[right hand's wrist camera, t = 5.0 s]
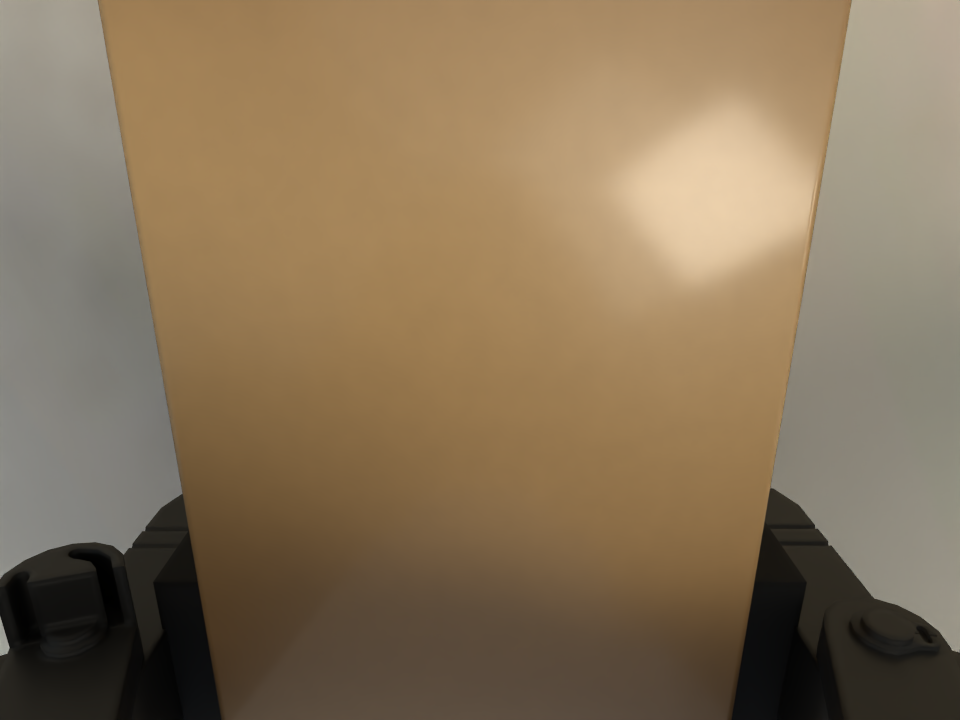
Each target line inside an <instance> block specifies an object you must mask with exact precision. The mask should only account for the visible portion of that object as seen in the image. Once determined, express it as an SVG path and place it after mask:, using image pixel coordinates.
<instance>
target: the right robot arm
mask: <svg viewBox="0 0 960 720" xmlns="http://www.w3.org/2000/svg"><path fill="white" fill-rule="evenodd" d="M0 617H1V620H2V623H3V627H4V630H5V633H6V637H7V640H8V643H9V647H10V649H9V651H8V654H5V655H2V656H0V720H222V719H221V714H220V708H219V702H218V696H217V690H216V684H215V679H214V673H213V667H212V661H211V655H210V650H209V644H208V638H207V632H206V626H205V621H204V615H203V609H202V603H201V597H200V591H199V586H198V580H197V574H196V568H195V562H194V557H193V551H192V545H191V539H190V533H189V527H188V522H187V516H186V510H185V504H184V498H183V494H181V495H180V496H178V497H177V498H175V499H174V500H172V501H171V502H169V503H168V504H166V505H165V506H163V507H162V508H161V509H160V510H159V511H158V513H157V514H156V515H155V516H154V518H153V519H152V520H151V521H150V523H149V524H148V525H147V526H146V530H145V531H142V533H141V534H140V535H139V536H138V538H137V539H136V540H135V541H134V543H133V546H132V548H129V549H128V550H127V551H126V553H125V554H124V555H123V554H122V553H121V552H120V551H119V550H117V549H116V548H115V547H114V546H111V545H106V544H101V543H96V542H93V543H77V544H70V545H66V546H62V547H58V548H54V549H50V550H47V551H45V552H43V553H40V554H38V555H36V556H33V557H31V558H29V559H27V560H24V561H23V562H21V563H20V564H19V565H17V566H16V567H14V568H13V569H11V570H10V571H8V572H7V573H5V574H4V575H3V576H2V578H1V579H0ZM731 720H960V653H959V652H955V651H952V650H951V648H950V646H949V645H948V643H947V642H946V641H945V639H944V638H943V637H942V635H941V634H940V632H939V631H938V630H936V629H935V628H934V627H933V626H931V625H930V624H929V623H928V622H926V621H925V620H924V619H922V618H921V617H920V616H918V615H916V614H914V613H912V612H910V611H908V610H906V609H904V608H902V607H900V606H898V605H894V604H891V603H887V602H884V601H880V600H877V599H874V598H873V597H872V596H871V594H870V593H869V592H868V591H867V589H866V588H865V587H864V586H863V584H862V583H861V582H860V581H859V579H858V578H857V577H856V576H855V575H854V573H853V572H852V571H851V570H850V568H849V567H848V566H847V565H846V563H845V562H844V561H843V560H842V558H841V557H840V556H839V555H838V553H837V552H836V551H835V550H834V548H833V547H832V546H828V541H827V540H826V538H825V537H824V536H823V535H822V533H821V532H820V531H819V530H818V529H815V525H814V523H813V522H812V521H811V520H810V519H809V517H808V516H807V515H806V514H805V512H804V511H803V510H802V509H801V507H800V506H799V505H798V504H796V503H795V502H793V501H791V500H790V499H788V498H787V497H785V496H784V495H782V494H781V493H779V492H778V491H776V490H775V489H773V488H770V492H769V498H768V503H767V509H766V515H765V521H764V527H763V533H762V539H761V545H760V551H759V557H758V563H757V569H756V575H755V581H754V587H753V593H752V599H751V605H750V611H749V617H748V623H747V629H746V635H745V641H744V647H743V653H742V659H741V665H740V671H739V677H738V683H737V689H736V695H735V701H734V707H733V713H732V719H731Z"/></svg>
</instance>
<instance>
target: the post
mask: <svg viewBox="0 0 960 720" xmlns="http://www.w3.org/2000/svg"><path fill="white" fill-rule="evenodd" d="M851 1H852V0H98V4H99V10H100V16H101V21H102V27H103V33H104V39H105V45H106V51H107V56H108V62H109V68H110V74H111V80H112V85H113V91H114V97H115V103H116V109H117V115H118V120H119V126H120V132H121V138H122V144H123V149H124V155H125V161H126V167H127V173H128V179H129V184H130V190H131V196H132V202H133V208H134V213H135V219H136V225H137V231H138V237H139V242H140V248H141V254H142V260H143V266H144V272H145V277H146V283H147V289H148V295H149V301H150V306H151V312H152V318H153V324H154V330H155V336H156V341H157V347H158V353H159V359H160V365H161V370H162V376H163V382H164V388H165V394H166V400H167V405H168V411H169V417H170V423H171V429H172V434H173V440H174V446H175V452H176V458H177V463H178V469H179V475H180V481H181V487H182V493H183V498H184V504H185V510H186V516H187V522H188V527H189V533H190V539H191V545H192V551H193V557H194V562H195V568H196V574H197V580H198V586H199V591H200V597H201V603H202V609H203V615H204V621H205V626H206V632H207V638H208V644H209V650H210V655H211V661H212V667H213V673H214V679H215V684H216V690H217V696H218V702H219V708H220V714H221V719H222V720H731V719H732V713H733V707H734V701H735V695H736V689H737V683H738V677H739V671H740V665H741V659H742V653H743V647H744V641H745V635H746V629H747V623H748V617H749V611H750V605H751V599H752V593H753V587H754V581H755V575H756V569H757V563H758V557H759V551H760V545H761V539H762V533H763V527H764V521H765V515H766V509H767V503H768V498H769V492H770V486H771V480H772V474H773V468H774V462H775V456H776V450H777V444H778V438H779V432H780V426H781V420H782V414H783V408H784V402H785V396H786V390H787V384H788V378H789V372H790V366H791V360H792V354H793V348H794V342H795V336H796V330H797V324H798V318H799V312H800V306H801V300H802V294H803V288H804V282H805V276H806V270H807V264H808V258H809V252H810V246H811V240H812V234H813V228H814V222H815V216H816V210H817V204H818V198H819V193H820V187H821V181H822V175H823V169H824V163H825V157H826V151H827V145H828V139H829V133H830V127H831V121H832V115H833V109H834V103H835V97H836V91H837V85H838V79H839V73H840V67H841V61H842V55H843V49H844V43H845V37H846V31H847V25H848V19H849V13H850V7H851Z"/></svg>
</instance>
